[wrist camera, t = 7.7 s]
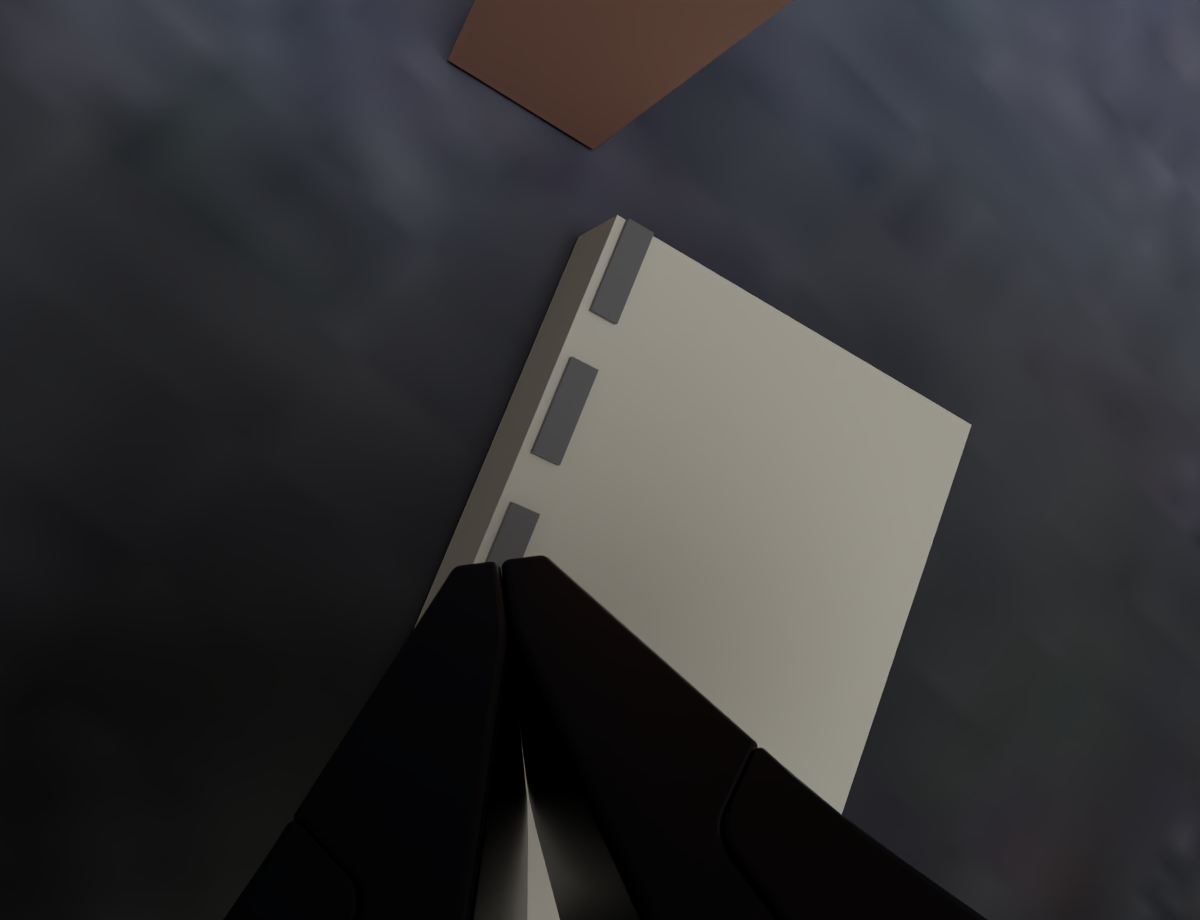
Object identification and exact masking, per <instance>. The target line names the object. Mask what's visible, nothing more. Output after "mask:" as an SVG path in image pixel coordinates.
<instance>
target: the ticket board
mask: <svg viewBox="0 0 1200 920" xmlns="http://www.w3.org/2000/svg"><path fill="white" fill-rule="evenodd" d="M653 235H654V233H653V232H651V231H650V230H648V229H646V228H645V227H643V226H641V225H640V224H638V223H636V222H635V221H633V220H631V219H630V218H629V219H627V220H625V219H623V218H622V217H620V216H618V215H616V216H615V217H613V218H611V219H609V220H607V221H606V222H604V223H602V224H600V225H599V226H597V227H595V228H593V229H591V230H590V231H588V232H586V233H584V234H582V235H581V236H579V237H578V239H577V241H576V244H575V246H574V249H573V251H572V253H571V256H570V258H569V260H568V263H567V265H566V268H565V270H564V272H563V275H562V277H561V280H560V282H559V284H558V287H557V289H556V291H555V294H554V296H553V299H552V301H551V303H550V306H549V308H548V311H547V313H546V315H545V318H544V320H543V322H542V325H541V327H540V330H539V332H538V334H537V337H536V339H535V342H534V344H533V346H532V349H531V351H530V353H529V356H528V358H527V361H526V363H525V365H524V368H523V370H522V373H521V375H520V377H519V380H518V382H517V384H516V387H515V389H514V392H513V394H512V396H511V399H510V401H509V404H508V406H507V408H506V411H505V413H504V415H503V418H502V420H501V423H500V425H499V427H498V430H497V432H496V435H495V437H494V439H493V442H492V444H491V446H490V449H489V451H488V454H487V456H486V458H485V461H484V463H483V466H482V468H481V470H480V473H479V475H478V477H477V480H476V482H475V485H474V487H473V489H472V492H471V494H470V497H469V499H468V501H467V504H466V506H465V508H464V511H463V513H462V516H461V518H460V520H459V523H458V525H457V528H456V530H455V532H454V535H453V537H452V539H451V542H450V544H449V547H448V549H447V551H446V554H445V556H444V558H443V561H442V563H441V566H440V568H439V570H438V573H437V575H436V578H435V580H434V582H433V585H432V587H431V589H430V592H429V594H428V597H427V599H426V601H425V604H424V606H423V609H422V611H421V613H420V616H419V618H418V620H417V623H416V625H417V624H418V622H419V621H420V619H421V617H422V616H423V614H424V613H425V611H426V610H427V608H428V607H429V605H430V603H431V602H432V600H433V599H434V597H435V596H436V594H437V593H438V591H439V590H440V588H441V586H442V585H443V583H444V582H445V580H446V579H447V577H448V576H449V574H450V572H451V571H452V570H453V569H454V568H455V567H457V566H460V565H467V564H475V563H483V562H496V563H498V565H499V566H500V568H501V567H502V564H503V562H505V561H506V560H508V559H515V558H522V557H530V556H538V555H543V556H546V557H548V558H549V559H551V560H552V561H553V562H554V563H555V564H556V565H557V566H558V567H560V568H561V569H562V570H563V571H564V572H565V573H566V574H567V575H569V576H570V577H571V578H572V579H573V580H574V581H575V582H576V583H578V584H579V585H580V586H581V587H582V588H583V589H584V590H585V591H587V592H588V593H589V594H590V595H591V596H592V597H593V598H595V599H596V600H597V601H598V602H599V603H600V604H601V605H602V606H604V607H605V608H606V609H607V610H608V611H609V612H610V613H611V614H613V615H614V616H615V617H616V618H617V619H618V620H619V621H620V622H622V623H623V624H624V625H625V626H626V627H627V628H628V629H629V630H631V631H632V632H633V633H634V634H635V635H636V636H637V637H638V638H640V639H641V640H642V641H643V642H644V643H645V644H646V645H647V646H649V647H650V648H651V649H652V650H653V651H654V652H655V653H656V654H658V655H659V656H660V657H661V658H662V659H663V660H664V661H665V662H667V663H668V664H669V665H670V666H671V667H672V668H673V669H675V670H676V671H677V672H678V673H679V674H680V675H681V676H682V677H684V678H685V679H686V680H687V681H688V682H689V683H690V684H691V685H693V686H694V687H695V688H696V689H697V690H698V691H699V692H700V693H702V694H703V695H704V696H705V697H706V698H707V699H708V700H709V701H711V702H712V703H713V704H714V705H715V706H716V707H717V708H718V709H720V710H721V711H722V712H723V713H724V714H725V715H726V716H727V717H729V718H730V719H731V720H732V721H733V722H734V723H735V724H736V725H738V726H739V727H740V728H741V729H742V730H743V731H744V732H746V733H747V734H748V735H749V736H750V737H751V738H752V739H753V740H755V741H756V743H757V746H758V748H759V747H762V748H764V749H765V750H766V751H767V752H769V753H770V754H771V755H772V756H773V757H774V758H775V759H776V760H778V761H779V762H780V763H781V764H782V765H783V766H784V767H785V768H787V769H788V770H789V771H790V772H791V773H792V774H793V775H795V776H796V777H797V778H798V779H799V780H801V781H802V782H803V783H804V784H805V785H807V786H808V787H809V788H810V789H811V790H813V791H814V792H815V793H816V794H817V795H819V796H820V797H821V798H822V799H823V800H825V801H826V802H827V803H828V804H829V805H831V806H832V807H833V808H834V809H835V810H837V811H838V812H839V813H840V814H842V812H843V809H844V806H845V803H846V800H847V797H848V794H849V791H850V788H851V785H852V782H853V779H854V776H855V773H856V770H857V767H858V764H859V761H860V758H861V755H862V752H863V749H864V746H865V743H866V740H867V737H868V734H869V731H870V728H871V725H872V722H873V719H874V716H875V713H876V710H877V707H878V704H879V701H880V698H881V695H882V692H883V689H884V686H885V683H886V680H887V677H888V674H889V671H890V668H891V665H892V662H893V659H894V656H895V653H896V650H897V647H898V644H899V641H900V638H901V635H902V632H903V629H904V626H905V623H906V620H907V617H908V614H909V611H910V608H911V605H912V602H913V599H914V596H915V593H916V590H917V587H918V584H919V581H920V578H921V575H922V572H923V569H924V566H925V563H926V560H927V557H928V554H929V551H930V548H931V545H932V542H933V539H934V536H935V533H936V530H937V527H938V524H939V521H940V518H941V515H942V512H943V509H944V506H945V503H946V500H947V497H948V494H949V491H950V488H951V485H952V482H953V479H954V476H955V473H956V470H957V467H958V464H959V461H960V458H961V455H962V452H963V449H964V446H965V443H966V440H967V437H968V434H969V431H970V428H971V424H969V423H967V422H966V421H964V420H962V419H961V418H959V417H957V416H956V415H954V414H952V413H951V412H949V411H947V410H945V409H944V408H942V407H940V406H939V405H937V404H935V403H934V402H932V401H930V400H929V399H927V398H925V397H924V396H922V395H920V394H918V393H917V392H915V391H913V390H912V389H910V388H908V387H907V386H905V385H903V384H902V383H900V382H898V381H897V380H895V379H893V378H891V377H890V376H888V375H886V374H885V373H883V372H881V371H880V370H878V369H876V368H875V367H873V366H871V365H870V364H868V363H866V362H864V361H863V360H861V359H859V358H858V357H856V356H854V355H853V354H851V353H849V352H848V351H846V350H844V349H843V348H841V347H839V346H838V345H836V344H834V343H832V342H831V341H829V340H827V339H826V338H824V337H822V336H821V335H819V334H817V333H816V332H814V331H812V330H811V329H809V328H807V327H805V326H804V325H802V324H800V323H799V322H797V321H795V320H794V319H792V318H790V317H789V316H787V315H785V314H784V313H782V312H780V311H778V310H777V309H775V308H773V307H772V306H770V305H768V304H767V303H765V302H763V301H762V300H760V299H758V298H757V297H755V296H753V295H751V294H750V293H748V292H746V291H745V290H743V289H741V288H740V287H738V286H736V285H735V284H733V283H731V282H730V281H728V280H726V279H724V278H723V277H721V276H719V275H718V274H716V273H714V272H713V271H711V270H709V269H708V268H706V267H704V266H703V265H701V264H699V263H698V262H696V261H694V260H692V259H691V258H689V257H687V256H686V255H684V254H682V253H681V252H679V251H677V250H676V249H674V248H672V247H671V246H669V245H667V244H665V243H664V242H662V241H660V240H659V239H657V238H655V237H654V236H653ZM501 573H502V571H501ZM416 625H415V627H416ZM522 752H523V750H522ZM523 761H524V758H523ZM524 771H525V766H524ZM525 781H526V774H525ZM526 792H527V806H528V905H527V920H560V918H559V914H558V910H557V907H556V903H555V899H554V895H553V891H552V888H551V884H550V880H549V876H548V872H547V869H546V865H545V861H544V857H543V853H542V850H541V846H540V842H539V838H538V834H537V831H536V827H535V822H534V818H533V814H532V809H531V805H530V800H529V794H528V787H527V781H526Z"/></svg>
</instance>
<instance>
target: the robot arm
mask: <svg viewBox="0 0 1200 920" xmlns="http://www.w3.org/2000/svg"><path fill="white" fill-rule="evenodd" d="M501 571H502V573H501ZM522 750H523V752H522ZM523 758H524V761H523ZM524 766H525V771H524ZM525 774H526V781H527V787H528V794H529V800H530V805H531V809H532V814H533V818H534V822H535V827H536V831H537V834H538V838H539V842H540V846H541V850H542V853H543V857H544V861H545V865H546V869H547V872H548V876H549V880H550V884H551V888H552V891H553V895H554V899H555V903H556V907H557V910H558V914H559V918H560V920H987V919H986V918H984V917H983V916H981V915H980V914H979V913H977V912H976V911H974V910H973V909H972V908H970V907H969V906H967V905H966V904H964V903H963V902H962V901H960V900H959V899H957V898H956V897H955V896H953V895H952V894H950V893H949V892H947V891H946V890H945V889H943V888H942V887H940V886H939V885H938V884H936V883H935V882H933V881H932V880H930V879H929V878H928V877H926V876H925V875H923V874H922V873H921V872H919V871H918V870H916V869H915V868H913V867H912V866H911V865H909V864H908V863H906V862H905V861H904V860H902V859H901V858H899V857H898V856H897V855H895V854H894V853H893V852H891V851H890V850H889V849H887V848H886V847H885V846H883V845H882V844H881V843H879V842H878V841H876V840H875V839H874V838H872V837H871V836H870V835H868V834H867V833H866V832H864V831H863V830H862V829H860V828H859V827H858V826H856V825H855V824H854V823H852V822H851V821H850V820H848V819H847V818H846V817H844V816H843V815H842V814H840V813H839V812H838V811H837V810H835V809H834V808H833V807H832V806H831V805H829V804H828V803H827V802H826V801H825V800H823V799H822V798H821V797H820V796H819V795H817V794H816V793H815V792H814V791H813V790H811V789H810V788H809V787H808V786H807V785H805V784H804V783H803V782H802V781H801V780H799V779H798V778H797V777H796V776H795V775H793V774H792V773H791V772H790V771H789V770H788V769H787V768H785V767H784V766H783V765H782V764H781V763H780V762H779V761H778V760H776V759H775V758H774V757H773V756H772V755H771V754H770V753H769V752H767V751H766V750H765V749H764V748H762V747H759V748H758V746H757V743H756V741H755V740H753V739H752V738H751V737H750V736H749V735H748V734H747V733H746V732H744V731H743V730H742V729H741V728H740V727H739V726H738V725H736V724H735V723H734V722H733V721H732V720H731V719H730V718H729V717H727V716H726V715H725V714H724V713H723V712H722V711H721V710H720V709H718V708H717V707H716V706H715V705H714V704H713V703H712V702H711V701H709V700H708V699H707V698H706V697H705V696H704V695H703V694H702V693H700V692H699V691H698V690H697V689H696V688H695V687H694V686H693V685H691V684H690V683H689V682H688V681H687V680H686V679H685V678H684V677H682V676H681V675H680V674H679V673H678V672H677V671H676V670H675V669H673V668H672V667H671V666H670V665H669V664H668V663H667V662H665V661H664V660H663V659H662V658H661V657H660V656H659V655H658V654H656V653H655V652H654V651H653V650H652V649H651V648H650V647H649V646H647V645H646V644H645V643H644V642H643V641H642V640H641V639H640V638H638V637H637V636H636V635H635V634H634V633H633V632H632V631H631V630H629V629H628V628H627V627H626V626H625V625H624V624H623V623H622V622H620V621H619V620H618V619H617V618H616V617H615V616H614V615H613V614H611V613H610V612H609V611H608V610H607V609H606V608H605V607H604V606H602V605H601V604H600V603H599V602H598V601H597V600H596V599H595V598H593V597H592V596H591V595H590V594H589V593H588V592H587V591H585V590H584V589H583V588H582V587H581V586H580V585H579V584H578V583H576V582H575V581H574V580H573V579H572V578H571V577H570V576H569V575H567V574H566V573H565V572H564V571H563V570H562V569H561V568H560V567H558V566H557V565H556V564H555V563H554V562H553V561H552V560H551V559H549V558H548V557H546V556H543V555H538V556H530V557H522V558H515V559H508V560H506V561H505V562H503V564H502V567H501V568H500V566H499V565H498V563H496V562H483V563H475V564H467V565H460V566H457V567H455V568H454V569H453V570H452V571H451V572H450V574H449V576H448V577H447V579H446V580H445V582H444V583H443V585H442V586H441V588H440V590H439V591H438V593H437V594H436V596H435V597H434V599H433V600H432V602H431V603H430V605H429V607H428V608H427V610H426V611H425V613H424V614H423V616H422V617H421V619H420V621H419V622H418V624H417V625H416V627H415V628H414V630H413V631H412V633H411V634H410V636H409V638H408V639H407V641H406V642H405V644H404V645H403V647H402V648H401V650H400V652H399V653H398V655H397V656H396V658H395V659H394V661H393V662H392V664H391V666H390V667H389V669H388V670H387V672H386V673H385V675H384V676H383V678H382V679H381V681H380V683H379V684H378V686H377V687H376V689H375V690H374V692H373V693H372V695H371V697H370V698H369V700H368V701H367V703H366V704H365V706H364V707H363V709H362V710H361V712H360V714H359V715H358V717H357V718H356V720H355V721H354V723H353V724H352V726H351V728H350V729H349V731H348V732H347V734H346V735H345V737H344V738H343V740H342V741H341V743H340V745H339V746H338V748H337V749H336V751H335V752H334V754H333V755H332V757H331V759H330V760H329V762H328V763H327V765H326V766H325V768H324V769H323V771H322V772H321V774H320V776H319V777H318V779H317V780H316V782H315V783H314V785H313V786H312V788H311V790H310V791H309V793H308V794H307V796H306V797H305V799H304V800H303V802H302V803H301V805H300V807H299V808H298V810H297V811H296V813H295V814H294V821H292V822H290V823H288V824H287V826H286V827H285V829H284V830H283V832H282V834H281V835H280V837H279V838H278V840H277V841H276V843H275V845H274V846H273V848H272V849H271V851H270V852H269V854H268V855H267V857H266V858H265V860H264V861H263V863H262V864H261V866H260V867H259V869H258V870H257V872H256V873H255V874H254V876H253V877H252V879H251V880H250V882H249V883H248V885H247V886H246V888H245V889H244V890H243V892H242V893H241V895H240V896H239V898H238V899H237V901H236V902H235V904H234V905H233V906H232V908H231V909H230V911H229V912H228V914H227V915H226V917H225V918H224V919H223V920H527V905H528V806H527V792H526V781H525Z"/></svg>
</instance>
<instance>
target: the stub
mask: <svg viewBox="0 0 1200 920" xmlns="http://www.w3.org/2000/svg"><path fill="white" fill-rule="evenodd" d="M791 1H793V0H475V1H474V4H473V6H472V8H471V10H470V12H469V14H468V17H467V19H466V21H465V23H464V25H463V27H462V30H461V32H460V34H459V36H458V38H457V41H456V43H455V45H454V47H453V49H452V51H451V54H450V56H449V58H448V60H449V61H450V62H452V63H453V64H455V65H457V66H458V67H460V68H462V69H463V70H465V71H466V72H468V73H470V74H471V75H473V76H475V77H476V78H478V79H479V80H481V81H483V82H484V83H486V84H488V85H489V86H491V87H492V88H494V89H496V90H497V91H499V92H501V93H502V94H504V95H505V96H507V97H509V98H510V99H512V100H513V101H515V102H517V103H518V104H520V105H522V106H523V107H525V108H526V109H528V110H530V111H531V112H533V113H535V114H536V115H538V116H539V117H541V118H543V119H544V120H546V121H548V122H549V123H551V124H552V125H554V126H556V127H557V128H559V129H561V130H562V131H564V132H565V133H567V134H569V135H570V136H572V137H573V138H575V139H577V140H578V141H580V142H582V143H583V144H585V145H586V146H588V147H590V148H591V149H593V150H594V149H595V148H597V147H598V146H599V145H601V144H602V143H603V142H605V141H606V140H607V139H609V138H610V137H611V136H613V135H614V134H615V133H617V132H618V131H619V130H621V129H622V128H623V127H625V126H626V125H627V124H629V123H630V122H631V121H633V120H634V119H635V118H637V117H638V116H639V115H641V114H642V113H643V112H645V111H646V110H647V109H649V108H650V107H651V106H653V105H654V104H655V103H657V102H658V101H659V100H661V99H662V98H663V97H665V96H666V95H667V94H669V93H670V92H671V91H673V90H674V89H675V88H677V87H678V86H679V85H681V84H682V83H683V82H685V81H686V80H687V79H689V78H690V77H691V76H693V75H694V74H695V73H697V72H698V71H699V70H701V69H702V68H703V67H705V66H706V65H707V64H709V63H710V62H711V61H713V60H714V59H715V58H717V57H718V56H719V55H721V54H722V53H723V52H725V51H726V50H727V49H729V48H730V47H731V46H733V45H734V44H735V43H737V42H738V41H739V40H741V39H742V38H743V37H745V36H746V35H747V34H749V33H750V32H751V31H753V30H754V29H755V28H757V27H758V26H759V25H761V24H762V23H763V22H765V21H766V20H767V19H769V18H770V17H771V16H773V15H774V14H775V13H777V12H778V11H779V10H781V9H782V8H783V7H785V6H786V5H787V4H789V3H790V2H791Z"/></svg>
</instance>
